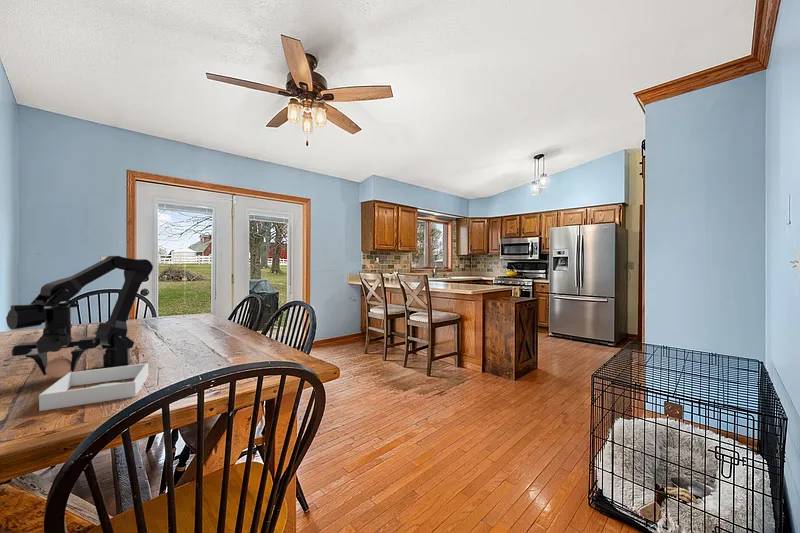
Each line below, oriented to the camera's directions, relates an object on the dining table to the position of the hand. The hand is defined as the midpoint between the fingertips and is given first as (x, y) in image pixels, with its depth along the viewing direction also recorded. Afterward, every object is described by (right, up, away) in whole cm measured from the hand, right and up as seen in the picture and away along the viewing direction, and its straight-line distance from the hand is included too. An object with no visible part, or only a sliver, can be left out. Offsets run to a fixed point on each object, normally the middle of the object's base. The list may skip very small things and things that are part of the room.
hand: (59, 373), depth 106 cm
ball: (0, -1, 0) cm, 1 cm away
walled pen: (+20, -2, -8) cm, 22 cm away
